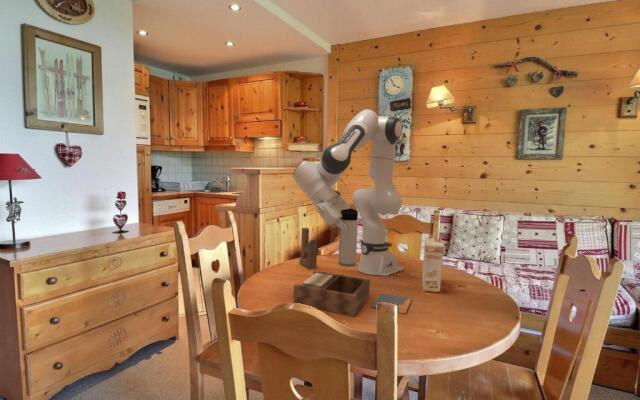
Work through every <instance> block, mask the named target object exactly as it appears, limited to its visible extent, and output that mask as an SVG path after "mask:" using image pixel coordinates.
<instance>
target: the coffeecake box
mask: <svg viewBox="0 0 640 400" xmlns="http://www.w3.org/2000/svg"><path fill="white" fill-rule="evenodd" d="M444 248H445V247H444V243H443V240H442V238H436V237H425V239H424V250H423V251H424V253H423V264H422V265H423V266H422V278H421V279H422V282H421V283H422V286H423V289H424V290H434V291H440V292H441V283H442V282H441V281H442V271H443V259H444V258H443V257H444ZM423 289H422V290H423Z"/></svg>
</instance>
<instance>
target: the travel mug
mask: <svg viewBox="0 0 640 400" xmlns="http://www.w3.org/2000/svg"><path fill="white" fill-rule="evenodd" d="M350 208H351V207H350ZM350 208H349V209H345V210H341V214H342V216H343V217H342V218H340V219H341V220H342V222H343V223H344V224H345V225H347V226H348V228H349V229H348V230H347V231H346V232H344V231H343V230H342V229H341V228H340V227H339V237H338V239H339V241H338V244H339V245H338V261H337V262H338V265H339V266H341V267H346V268H352V267H353V268H354V267H355V266H356V264H357V249H358V248H357V246H358V245H357V244H358V226H359V225H358V224H359V223H358V221H359V218H358V217H359V211H358V210H356V209H354V208H351V209H350Z"/></svg>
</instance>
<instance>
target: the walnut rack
mask: <svg viewBox="0 0 640 400" xmlns="http://www.w3.org/2000/svg"><path fill="white" fill-rule="evenodd" d="M312 273H313V274H312V275H314V274H315V273H321V274H327V275H333V280H332V281H331V282H330V283H328V284H327V285H326V286H325V287H324V288H323V289H321V288H316V287H310V286H305V285H303V283H302V284H298V283H295V284H293V304H294V303H301V304H305V305H309V306H312V307H315V308H317V309H316V310H321V311H326V312H330V313H334V314H340V315H345V316H348V317H349V316H351V317H356V315H357V314H358V313H359V311H360V310H361V309H362V307H363V306H364V304H365V303H366V302H367V300H368V299H369V298H370V283H371V279H369V278H368V279H367V278H365V277H364V278H363V277H356V276H351V275H345V274H338V273H332V272H327V271H326V272H325V271H318V270H314V271H313V272H312ZM315 308H314V309H315Z"/></svg>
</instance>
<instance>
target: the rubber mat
mask: <svg viewBox="0 0 640 400" xmlns="http://www.w3.org/2000/svg"><path fill="white" fill-rule="evenodd" d="M408 298H409V297H405V296H397V295H392V294H387V293H382V292H380V293H379V295H378V297H377V298H376V299H375V300H374V303H373V304H372V306H371V308H372V309H376V305H377V303H378V302H387V303H392V304H395V303H396V305H397V306H399V305H403V304H404V302H405V301H406V300H407V299H408ZM376 310H377V309H376ZM398 312H399V307H398Z"/></svg>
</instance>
